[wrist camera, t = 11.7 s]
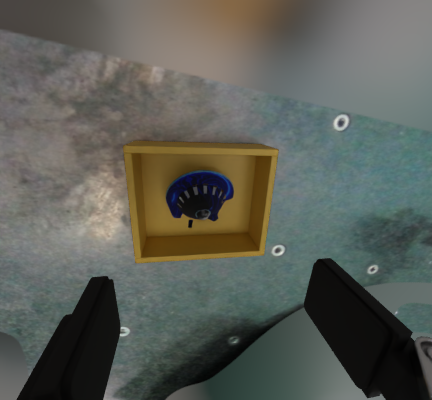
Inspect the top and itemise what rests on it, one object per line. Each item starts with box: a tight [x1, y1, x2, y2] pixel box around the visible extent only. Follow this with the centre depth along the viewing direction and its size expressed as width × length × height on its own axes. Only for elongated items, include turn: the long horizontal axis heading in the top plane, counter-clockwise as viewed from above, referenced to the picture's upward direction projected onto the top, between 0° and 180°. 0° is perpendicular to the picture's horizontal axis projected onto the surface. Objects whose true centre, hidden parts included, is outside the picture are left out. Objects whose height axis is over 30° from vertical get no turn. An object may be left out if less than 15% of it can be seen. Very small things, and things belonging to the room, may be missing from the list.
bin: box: [123, 141, 279, 263], centre depth 22 cm, size 11×13×5 cm
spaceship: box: [165, 170, 234, 228], centre depth 21 cm, size 7×6×5 cm
